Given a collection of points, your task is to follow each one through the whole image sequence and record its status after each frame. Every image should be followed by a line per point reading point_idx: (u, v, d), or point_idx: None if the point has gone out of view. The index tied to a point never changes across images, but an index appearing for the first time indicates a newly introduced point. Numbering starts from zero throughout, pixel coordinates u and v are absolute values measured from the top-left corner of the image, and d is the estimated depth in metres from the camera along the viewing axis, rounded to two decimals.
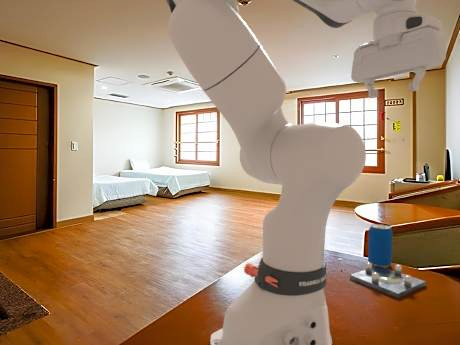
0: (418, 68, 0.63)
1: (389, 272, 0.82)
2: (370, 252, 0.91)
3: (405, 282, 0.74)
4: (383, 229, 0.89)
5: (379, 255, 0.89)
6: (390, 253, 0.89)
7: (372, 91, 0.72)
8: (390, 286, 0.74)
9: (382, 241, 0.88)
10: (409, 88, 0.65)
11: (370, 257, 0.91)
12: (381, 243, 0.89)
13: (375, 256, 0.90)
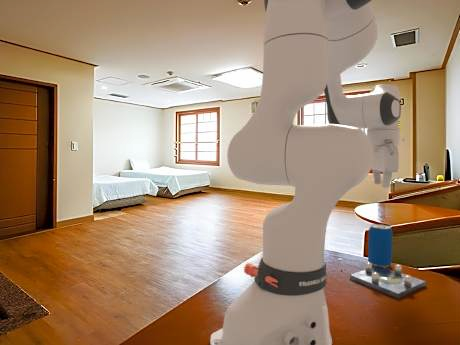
0: None
1: (389, 272, 0.82)
2: (370, 252, 0.91)
3: (405, 282, 0.74)
4: (383, 229, 0.89)
5: (379, 255, 0.89)
6: (390, 253, 0.89)
7: None
8: (390, 286, 0.74)
9: (382, 241, 0.88)
10: None
11: (370, 257, 0.91)
12: (381, 243, 0.89)
13: (375, 256, 0.90)
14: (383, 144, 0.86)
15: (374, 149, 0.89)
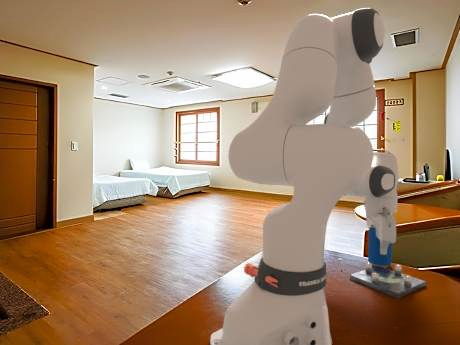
0: None
1: (389, 272, 0.82)
2: (370, 252, 0.91)
3: (405, 282, 0.74)
4: None
5: (379, 255, 0.89)
6: (390, 253, 0.89)
7: None
8: (390, 286, 0.74)
9: None
10: None
11: (371, 257, 0.91)
12: None
13: (375, 256, 0.90)
14: (381, 212, 0.87)
15: (372, 215, 0.90)
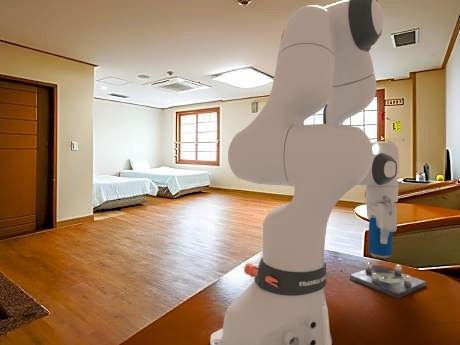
0: None
1: (389, 272, 0.82)
2: (370, 242, 0.91)
3: (405, 282, 0.74)
4: None
5: (380, 245, 0.88)
6: (390, 243, 0.89)
7: None
8: (390, 286, 0.74)
9: None
10: None
11: (371, 248, 0.90)
12: None
13: (375, 246, 0.89)
14: (382, 201, 0.87)
15: (373, 204, 0.90)
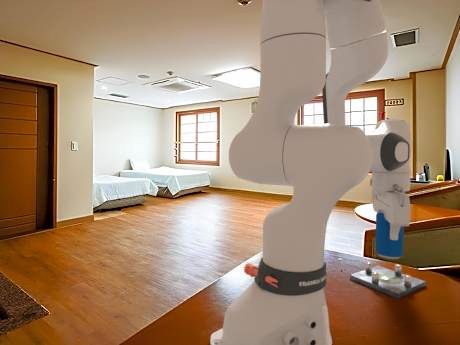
0: None
1: (389, 272, 0.82)
2: (378, 242, 0.78)
3: (405, 282, 0.74)
4: None
5: (389, 245, 0.75)
6: (401, 242, 0.76)
7: None
8: (390, 286, 0.74)
9: None
10: None
11: (378, 248, 0.78)
12: None
13: (384, 246, 0.76)
14: (391, 190, 0.73)
15: (380, 194, 0.77)
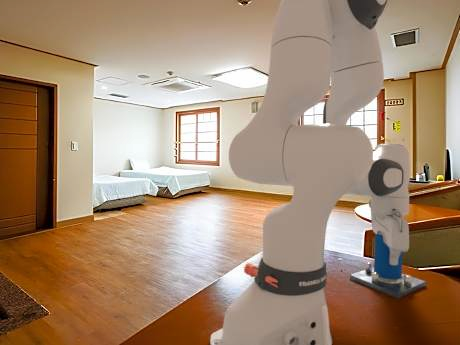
0: None
1: None
2: (377, 263, 0.78)
3: (405, 282, 0.74)
4: None
5: (388, 267, 0.76)
6: (400, 265, 0.76)
7: None
8: (390, 286, 0.74)
9: None
10: None
11: (377, 269, 0.78)
12: None
13: (382, 268, 0.77)
14: (390, 214, 0.74)
15: (379, 217, 0.77)
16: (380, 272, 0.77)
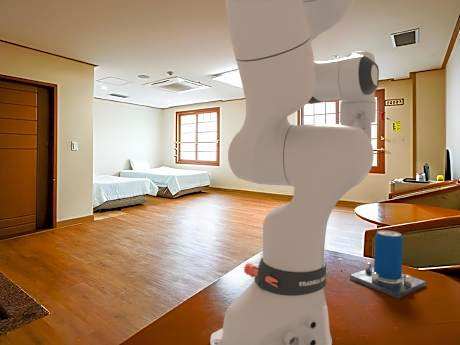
0: None
1: None
2: (377, 263, 0.78)
3: (405, 282, 0.74)
4: (392, 237, 0.75)
5: (388, 267, 0.76)
6: (400, 265, 0.76)
7: None
8: (390, 286, 0.74)
9: (391, 250, 0.75)
10: None
11: (377, 269, 0.78)
12: (390, 253, 0.75)
13: (382, 268, 0.77)
14: (356, 119, 0.76)
15: (347, 125, 0.79)
16: (380, 272, 0.77)
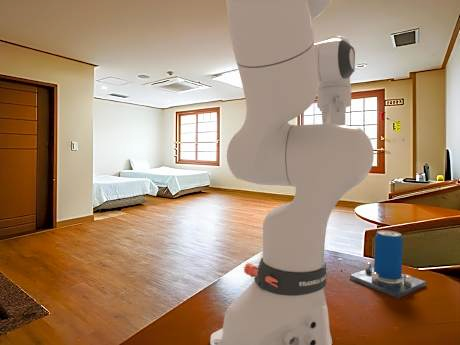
0: None
1: None
2: (377, 263, 0.78)
3: (405, 282, 0.74)
4: (392, 237, 0.75)
5: (388, 267, 0.76)
6: (400, 265, 0.76)
7: None
8: (390, 286, 0.74)
9: (391, 250, 0.75)
10: None
11: (377, 269, 0.78)
12: (390, 253, 0.75)
13: (382, 268, 0.77)
14: None
15: (324, 109, 0.81)
16: (380, 272, 0.77)
